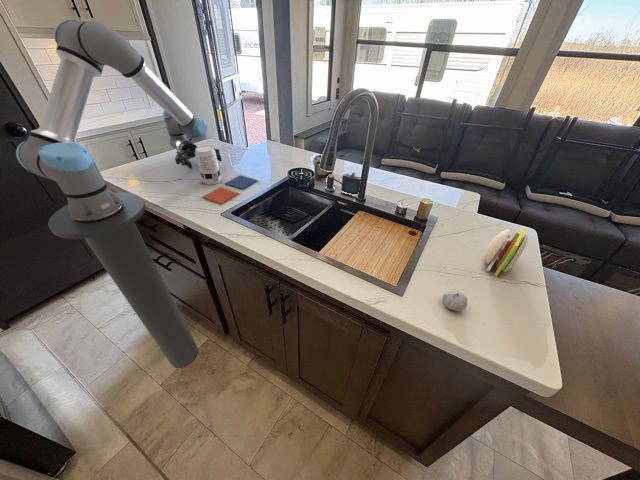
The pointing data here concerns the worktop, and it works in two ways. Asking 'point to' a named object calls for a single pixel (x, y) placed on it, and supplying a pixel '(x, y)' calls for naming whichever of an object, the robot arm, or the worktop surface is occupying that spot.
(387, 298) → the worktop surface
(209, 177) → the supplement can
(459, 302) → the garlic
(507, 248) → the hamburger
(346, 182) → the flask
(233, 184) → the slate pad
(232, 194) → the terracotta pad
